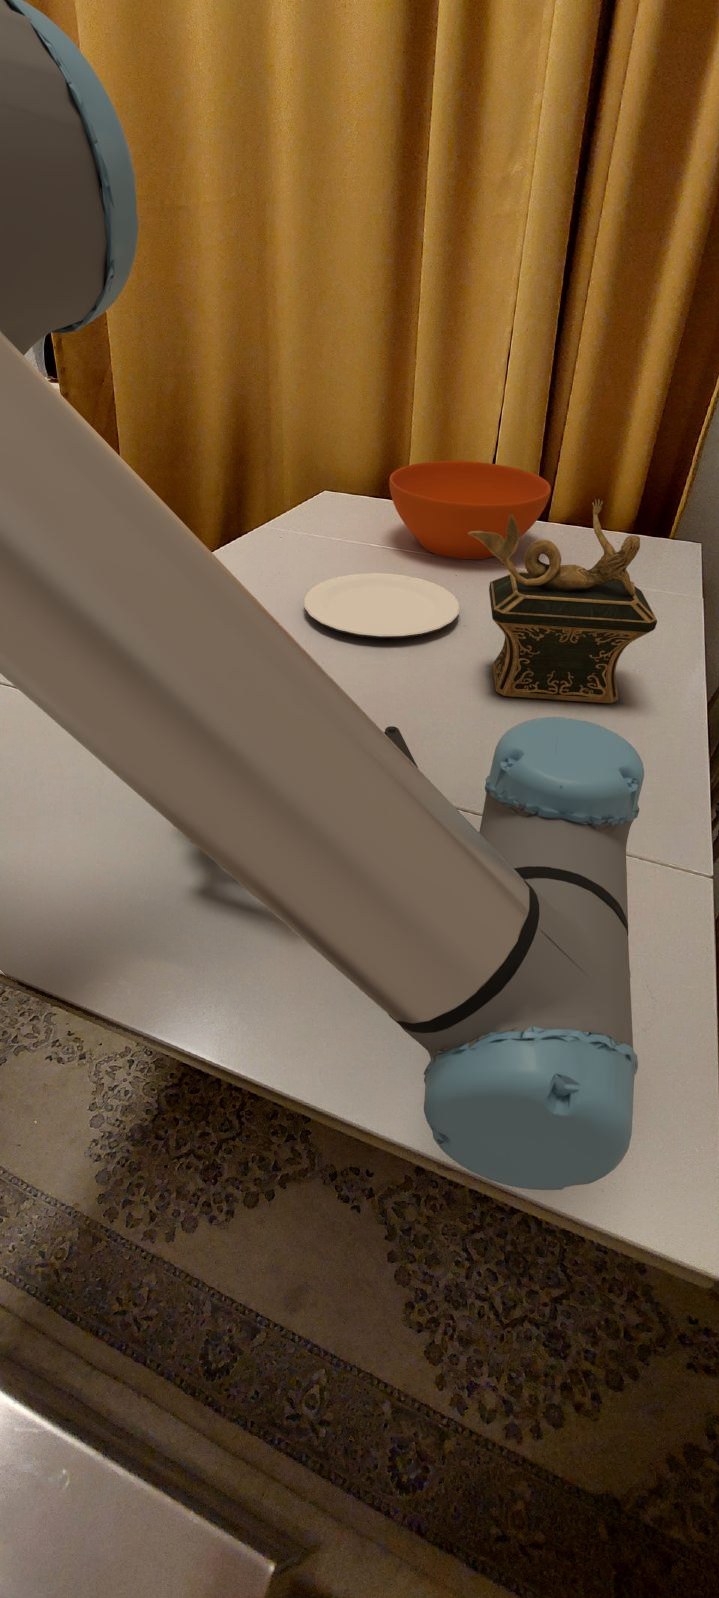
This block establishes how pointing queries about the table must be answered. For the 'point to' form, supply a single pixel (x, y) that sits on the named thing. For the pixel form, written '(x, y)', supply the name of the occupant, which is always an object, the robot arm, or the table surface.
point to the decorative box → (564, 618)
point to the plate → (381, 605)
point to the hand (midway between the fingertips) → (248, 738)
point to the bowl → (465, 503)
